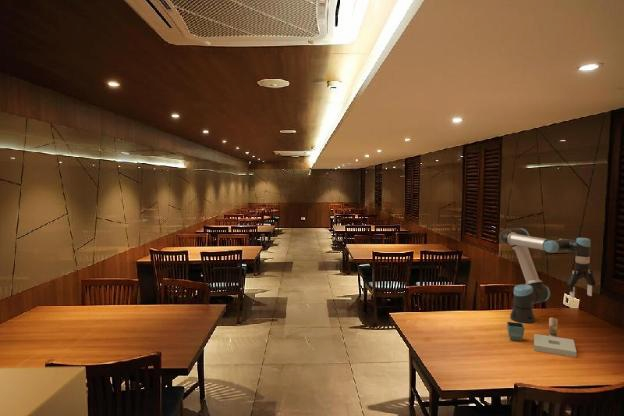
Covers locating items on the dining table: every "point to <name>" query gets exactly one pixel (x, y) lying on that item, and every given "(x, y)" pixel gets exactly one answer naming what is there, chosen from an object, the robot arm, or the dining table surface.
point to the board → (554, 345)
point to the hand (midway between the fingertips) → (580, 296)
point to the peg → (553, 327)
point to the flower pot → (515, 330)
